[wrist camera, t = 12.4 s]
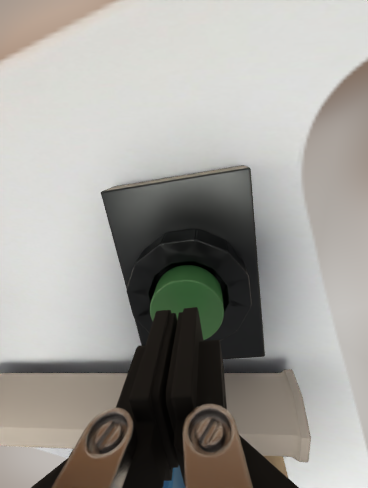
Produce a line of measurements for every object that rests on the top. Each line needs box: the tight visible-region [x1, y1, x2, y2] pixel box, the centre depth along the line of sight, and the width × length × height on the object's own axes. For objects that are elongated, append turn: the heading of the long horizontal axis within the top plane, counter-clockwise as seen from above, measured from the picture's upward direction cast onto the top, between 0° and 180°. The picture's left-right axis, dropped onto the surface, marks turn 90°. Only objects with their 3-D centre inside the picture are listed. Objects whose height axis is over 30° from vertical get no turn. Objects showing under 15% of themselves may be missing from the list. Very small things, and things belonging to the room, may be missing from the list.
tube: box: [0, 369, 311, 462], centre depth 19 cm, size 5×5×25 cm
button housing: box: [101, 165, 265, 359], centre depth 16 cm, size 12×8×4 cm, turn 9°
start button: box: [150, 265, 224, 340], centre depth 13 cm, size 4×4×2 cm
